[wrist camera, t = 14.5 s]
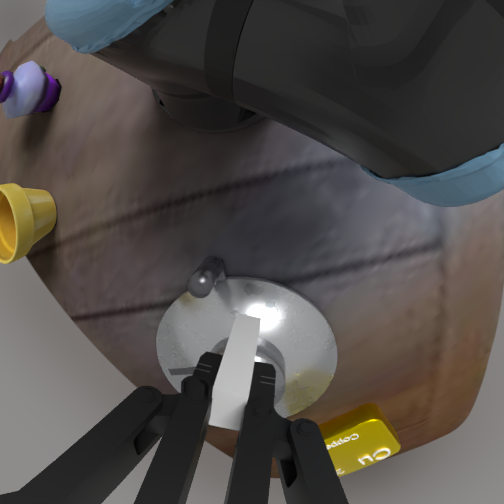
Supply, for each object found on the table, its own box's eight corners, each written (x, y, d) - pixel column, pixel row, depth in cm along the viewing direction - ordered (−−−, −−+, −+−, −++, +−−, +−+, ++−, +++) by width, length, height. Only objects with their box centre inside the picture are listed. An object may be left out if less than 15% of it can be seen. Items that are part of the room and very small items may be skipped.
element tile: (372, 397, 37) (379, 418, 32) (398, 434, 39) (404, 452, 35) (292, 433, 40) (292, 454, 36) (330, 464, 43) (331, 482, 38)
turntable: (126, 276, 34) (100, 295, 28) (315, 231, 30) (324, 246, 24) (195, 420, 40) (186, 447, 34) (342, 403, 36) (348, 433, 30)
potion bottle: (67, 59, 26) (12, 40, 15) (70, 106, 28) (8, 95, 17) (32, 87, 28) (-21, 78, 16) (34, 132, 30) (-24, 131, 18)
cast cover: (197, 341, 34) (187, 361, 30) (275, 327, 32) (273, 349, 28) (223, 396, 36) (217, 417, 32) (292, 387, 35) (292, 409, 30)
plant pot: (46, 258, 35) (3, 279, 26) (18, 209, 34) (-25, 221, 24) (76, 216, 33) (26, 232, 23) (45, 163, 31) (-4, 168, 22)
